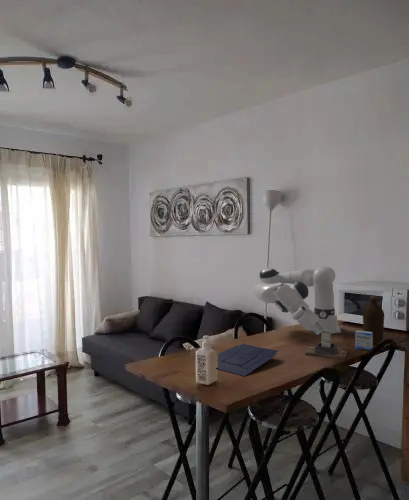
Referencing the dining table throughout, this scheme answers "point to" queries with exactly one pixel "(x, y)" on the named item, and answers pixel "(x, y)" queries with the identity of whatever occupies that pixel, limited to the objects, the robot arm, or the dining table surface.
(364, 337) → the medicine box
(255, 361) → the dark blue flat slab
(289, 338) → the dining table surface
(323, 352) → the rack
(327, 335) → the peg block
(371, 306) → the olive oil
